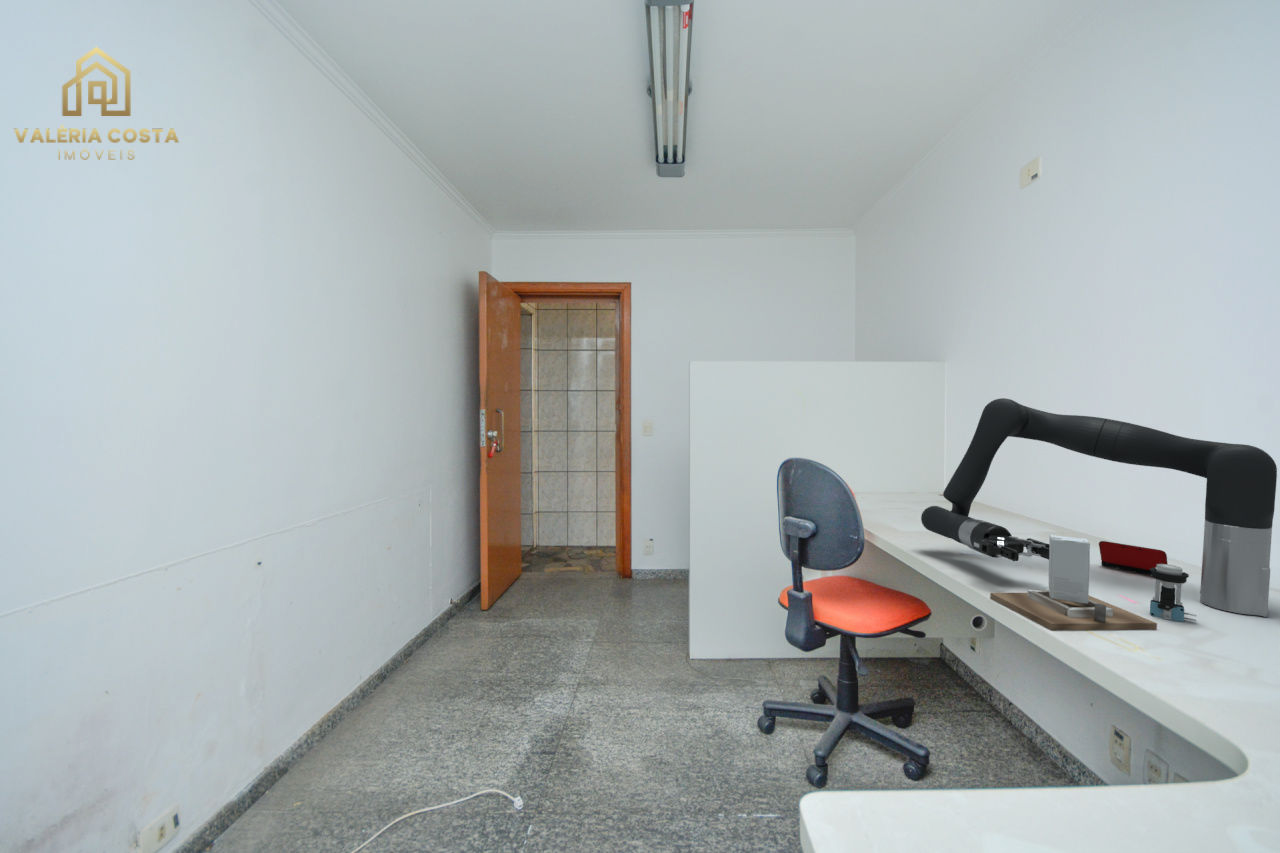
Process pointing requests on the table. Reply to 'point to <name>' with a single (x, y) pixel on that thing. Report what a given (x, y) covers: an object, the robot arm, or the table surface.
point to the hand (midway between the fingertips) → (1036, 556)
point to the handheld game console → (1130, 557)
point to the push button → (1168, 593)
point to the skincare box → (1069, 568)
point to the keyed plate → (1071, 612)
